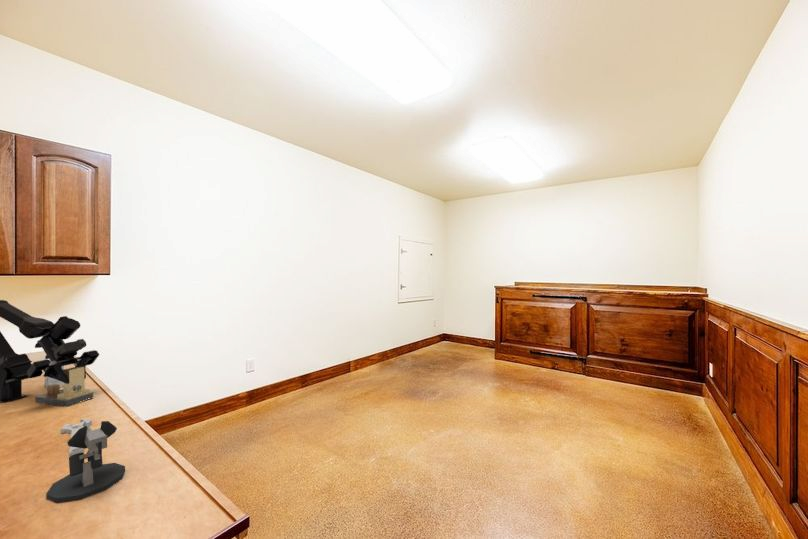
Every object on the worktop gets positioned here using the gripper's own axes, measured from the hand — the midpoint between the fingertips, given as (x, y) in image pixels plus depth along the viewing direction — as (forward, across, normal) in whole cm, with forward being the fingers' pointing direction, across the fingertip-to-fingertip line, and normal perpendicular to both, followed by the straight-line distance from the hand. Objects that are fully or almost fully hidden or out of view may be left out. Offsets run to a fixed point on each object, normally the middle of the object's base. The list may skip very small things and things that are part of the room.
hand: (76, 380), depth 121 cm
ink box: (-16, +10, +27) cm, 33 cm away
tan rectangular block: (+3, 0, +5) cm, 6 cm away
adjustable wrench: (+28, -19, -17) cm, 38 cm away
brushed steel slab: (+1, 0, +10) cm, 10 cm away
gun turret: (+46, -31, -34) cm, 65 cm away
